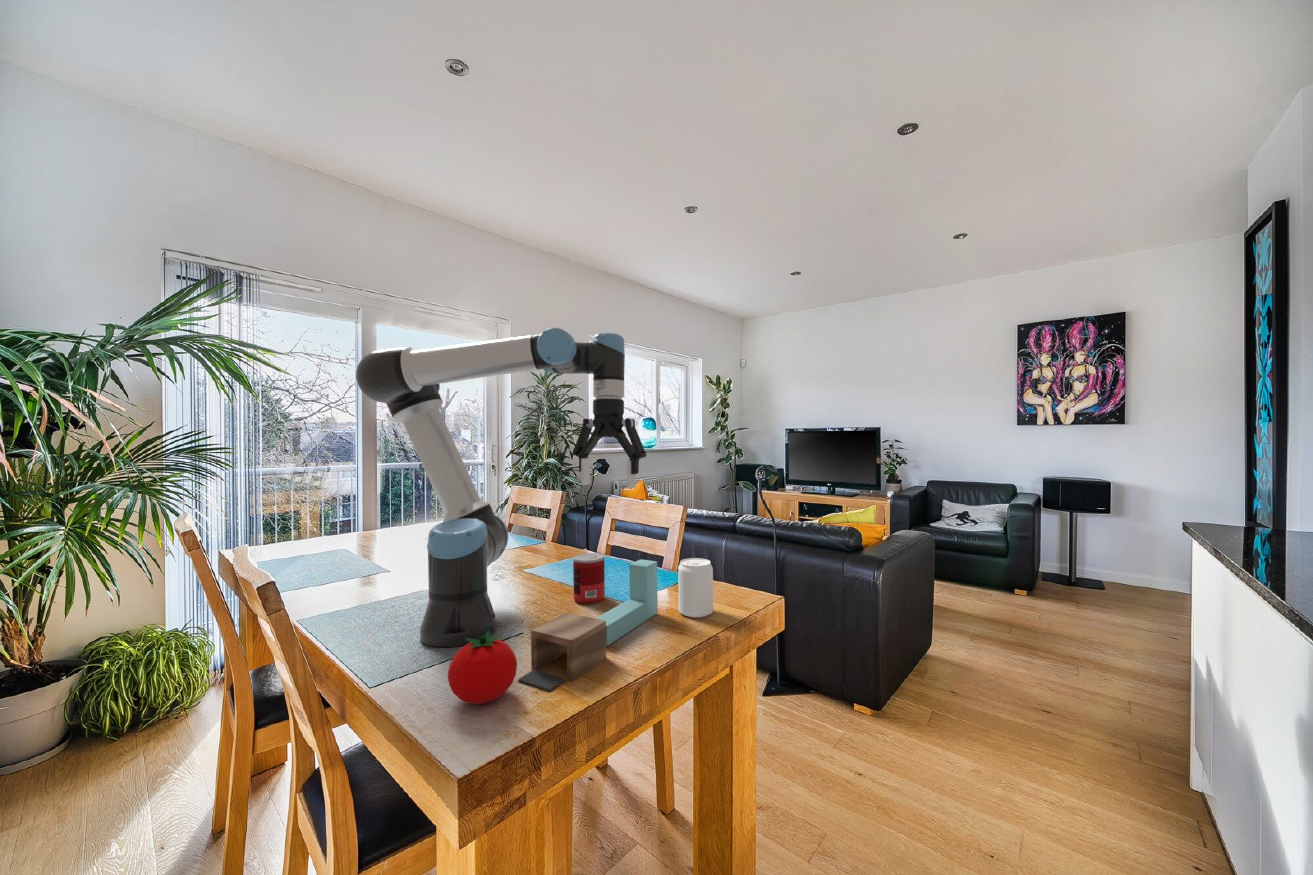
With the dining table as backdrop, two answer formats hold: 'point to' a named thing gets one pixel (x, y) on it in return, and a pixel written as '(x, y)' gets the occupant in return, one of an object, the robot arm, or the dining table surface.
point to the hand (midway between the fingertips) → (607, 486)
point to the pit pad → (541, 680)
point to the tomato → (482, 670)
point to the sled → (634, 601)
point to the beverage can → (695, 587)
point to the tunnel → (569, 643)
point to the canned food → (589, 578)
